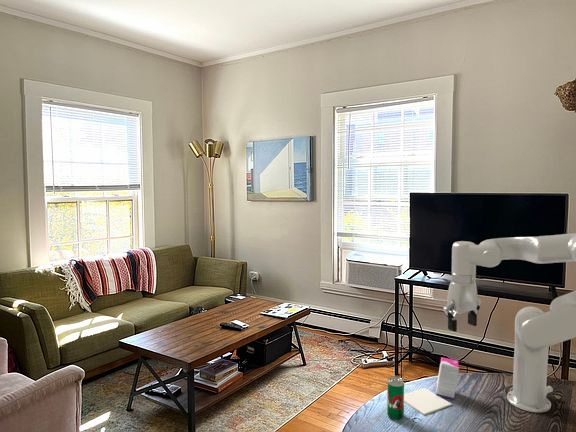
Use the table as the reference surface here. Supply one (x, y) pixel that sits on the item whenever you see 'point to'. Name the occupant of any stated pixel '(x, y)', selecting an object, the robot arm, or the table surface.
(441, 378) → the supplement box
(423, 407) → the mat
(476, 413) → the table surface
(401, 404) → the soda can
